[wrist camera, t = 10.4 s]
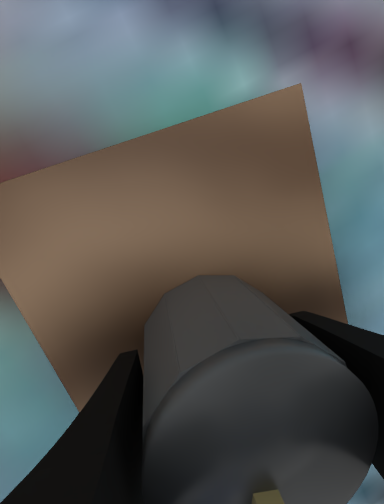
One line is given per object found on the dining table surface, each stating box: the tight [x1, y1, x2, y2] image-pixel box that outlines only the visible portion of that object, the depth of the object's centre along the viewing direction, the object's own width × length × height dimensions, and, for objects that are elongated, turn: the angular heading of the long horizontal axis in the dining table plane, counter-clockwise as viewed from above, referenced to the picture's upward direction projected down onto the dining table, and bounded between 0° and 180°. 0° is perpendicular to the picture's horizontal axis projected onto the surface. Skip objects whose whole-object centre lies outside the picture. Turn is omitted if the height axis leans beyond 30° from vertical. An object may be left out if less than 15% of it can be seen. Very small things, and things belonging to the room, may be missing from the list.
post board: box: [0, 83, 348, 413], centre depth 9 cm, size 16×12×5 cm
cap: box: [142, 275, 379, 504], centre depth 8 cm, size 5×5×6 cm
